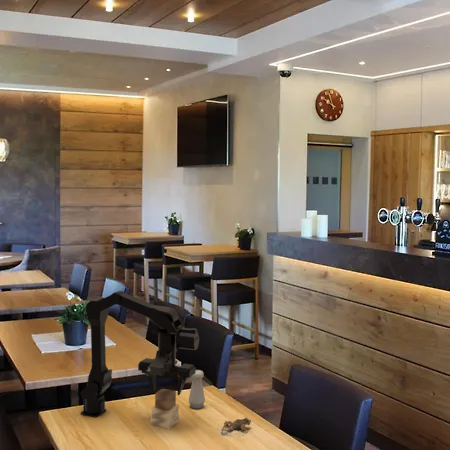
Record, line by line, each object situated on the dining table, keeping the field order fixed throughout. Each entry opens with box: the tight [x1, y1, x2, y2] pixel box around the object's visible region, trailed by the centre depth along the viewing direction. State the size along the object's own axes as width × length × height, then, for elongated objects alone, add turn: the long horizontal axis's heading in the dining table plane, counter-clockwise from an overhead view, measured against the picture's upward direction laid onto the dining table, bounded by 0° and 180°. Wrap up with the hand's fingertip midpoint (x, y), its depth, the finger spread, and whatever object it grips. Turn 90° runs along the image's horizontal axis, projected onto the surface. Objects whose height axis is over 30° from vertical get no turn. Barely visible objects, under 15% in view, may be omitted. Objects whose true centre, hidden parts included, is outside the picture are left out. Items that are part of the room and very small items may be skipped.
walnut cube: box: [154, 388, 177, 411], centre depth 203 cm, size 5×5×5 cm
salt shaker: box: [188, 369, 206, 410], centre depth 217 cm, size 6×6×13 cm
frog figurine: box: [216, 417, 252, 438], centre depth 200 cm, size 12×12×4 cm
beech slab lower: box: [150, 413, 180, 429], centre depth 203 cm, size 7×7×3 cm
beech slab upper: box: [151, 403, 180, 421], centre depth 203 cm, size 7×7×3 cm
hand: (166, 392), depth 203 cm, fingers open, 9 cm apart
